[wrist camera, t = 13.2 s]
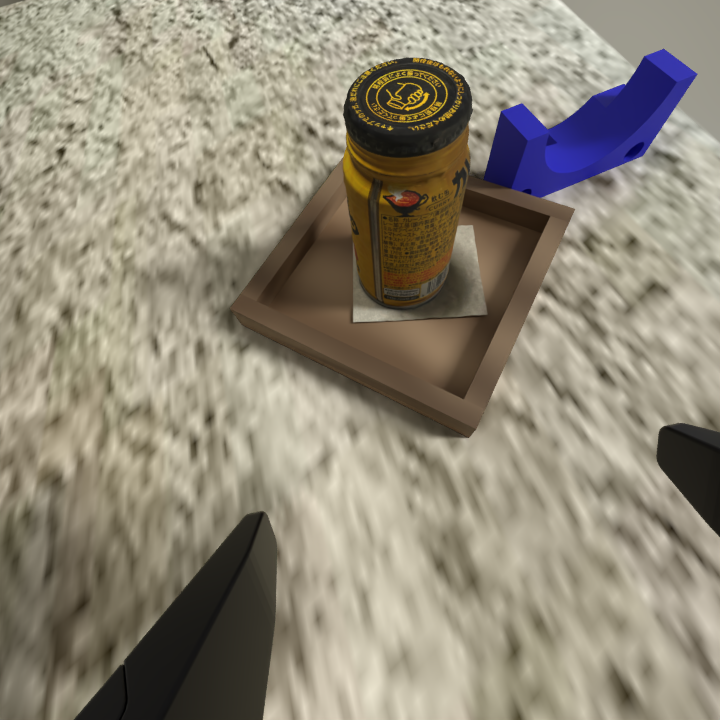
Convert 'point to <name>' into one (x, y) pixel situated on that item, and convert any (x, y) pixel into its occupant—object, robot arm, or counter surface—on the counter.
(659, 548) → the counter surface
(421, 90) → the condiment
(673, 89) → the cable clip
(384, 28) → the counter surface
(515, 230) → the dock holder
